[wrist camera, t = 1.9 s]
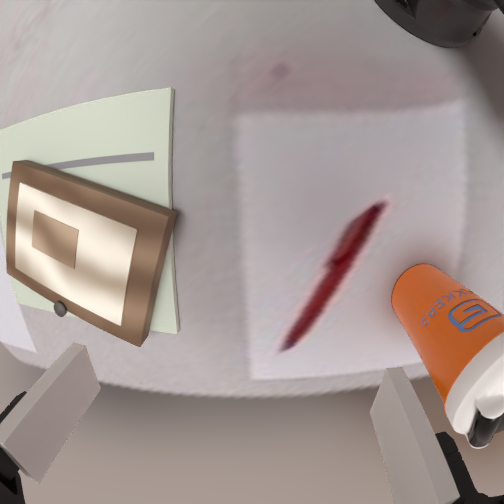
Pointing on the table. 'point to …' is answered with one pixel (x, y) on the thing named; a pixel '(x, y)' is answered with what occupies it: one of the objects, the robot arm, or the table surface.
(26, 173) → the frame
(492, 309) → the shaker bottle
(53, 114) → the wall panel
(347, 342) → the table surface
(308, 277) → the table surface
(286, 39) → the table surface
